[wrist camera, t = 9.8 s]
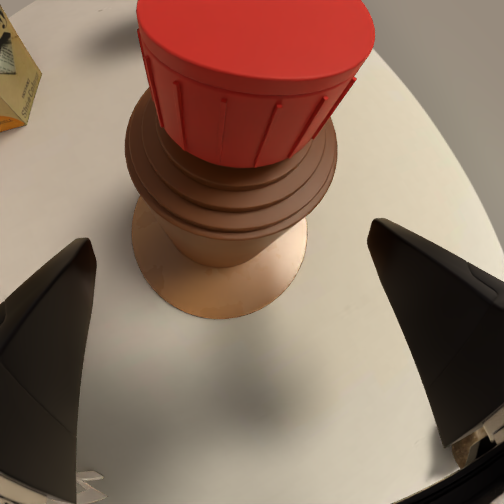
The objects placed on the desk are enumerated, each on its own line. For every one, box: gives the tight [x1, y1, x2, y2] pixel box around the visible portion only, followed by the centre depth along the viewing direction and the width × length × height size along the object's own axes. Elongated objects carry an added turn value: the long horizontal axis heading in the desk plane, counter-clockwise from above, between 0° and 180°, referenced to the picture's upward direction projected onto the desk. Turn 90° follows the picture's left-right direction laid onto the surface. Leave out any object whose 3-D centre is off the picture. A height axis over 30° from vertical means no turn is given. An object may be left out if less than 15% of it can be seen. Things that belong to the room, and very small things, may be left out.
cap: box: [136, 0, 375, 168], centre depth 5 cm, size 4×4×3 cm
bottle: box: [125, 87, 337, 268], centre depth 11 cm, size 6×6×14 cm
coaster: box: [132, 196, 307, 319], centre depth 18 cm, size 10×10×1 cm
